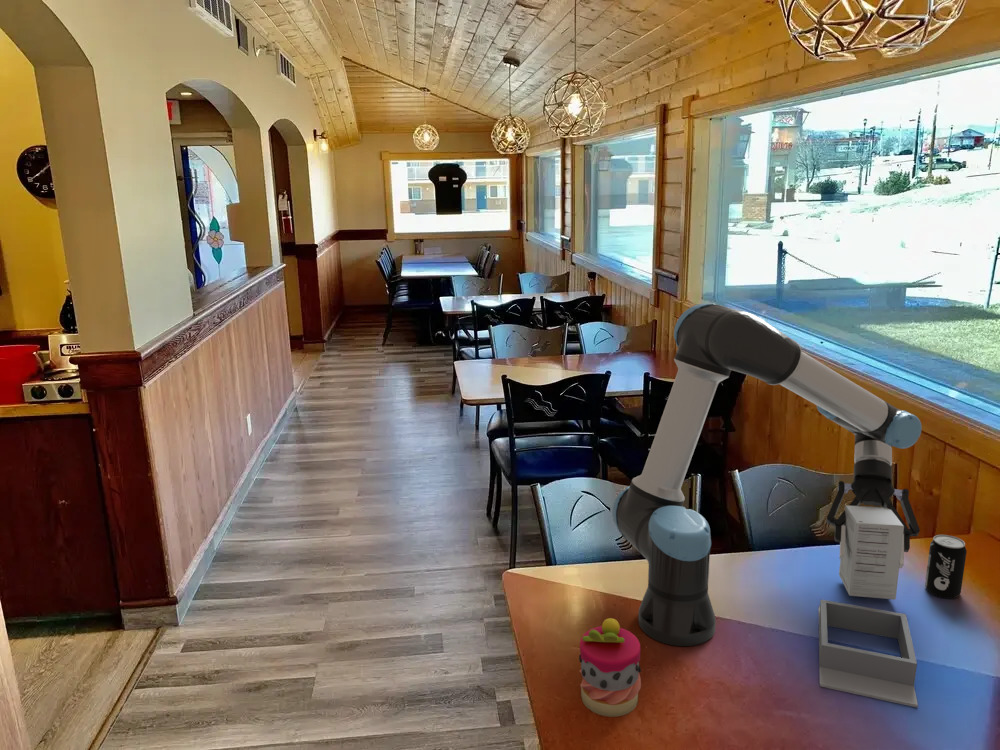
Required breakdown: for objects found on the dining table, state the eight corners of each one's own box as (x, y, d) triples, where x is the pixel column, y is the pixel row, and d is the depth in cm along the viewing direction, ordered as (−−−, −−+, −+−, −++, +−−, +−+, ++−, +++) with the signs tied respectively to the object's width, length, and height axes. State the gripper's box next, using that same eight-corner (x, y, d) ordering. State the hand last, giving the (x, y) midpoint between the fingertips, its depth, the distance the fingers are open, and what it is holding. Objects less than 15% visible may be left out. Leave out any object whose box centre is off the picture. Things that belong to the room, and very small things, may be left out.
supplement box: (896, 600, 147) (905, 526, 143) (848, 596, 149) (856, 523, 145) (882, 577, 156) (890, 506, 152) (837, 573, 158) (844, 503, 154)
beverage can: (967, 599, 149) (974, 547, 146) (935, 600, 149) (942, 548, 146) (948, 583, 156) (955, 533, 153) (918, 583, 156) (924, 533, 153)
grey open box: (819, 686, 125) (822, 661, 123) (818, 608, 148) (820, 586, 146) (917, 707, 119) (921, 681, 118) (900, 623, 142) (902, 600, 141)
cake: (578, 675, 129) (578, 602, 125) (637, 678, 128) (639, 604, 124) (579, 716, 119) (579, 638, 115) (642, 719, 118) (644, 640, 114)
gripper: (928, 478, 157) (930, 576, 147) (816, 465, 166) (810, 557, 156) (935, 464, 151) (937, 565, 141) (818, 451, 160) (812, 546, 149)
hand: (871, 561), depth 148 cm, fingers closed on supplement box, 10 cm apart
